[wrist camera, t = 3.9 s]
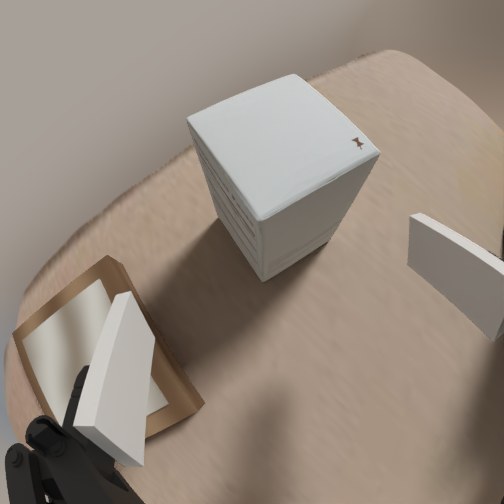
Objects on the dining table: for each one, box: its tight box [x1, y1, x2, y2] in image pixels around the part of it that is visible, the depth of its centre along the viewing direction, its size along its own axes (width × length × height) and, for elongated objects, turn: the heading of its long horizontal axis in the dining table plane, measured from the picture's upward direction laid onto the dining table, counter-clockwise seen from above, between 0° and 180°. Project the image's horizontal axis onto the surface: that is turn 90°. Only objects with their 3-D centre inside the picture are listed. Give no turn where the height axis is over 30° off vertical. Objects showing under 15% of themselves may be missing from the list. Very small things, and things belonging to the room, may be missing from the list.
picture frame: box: [12, 255, 205, 438], centre depth 19 cm, size 14×14×3 cm
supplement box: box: [186, 74, 380, 282], centre depth 19 cm, size 7×7×13 cm
